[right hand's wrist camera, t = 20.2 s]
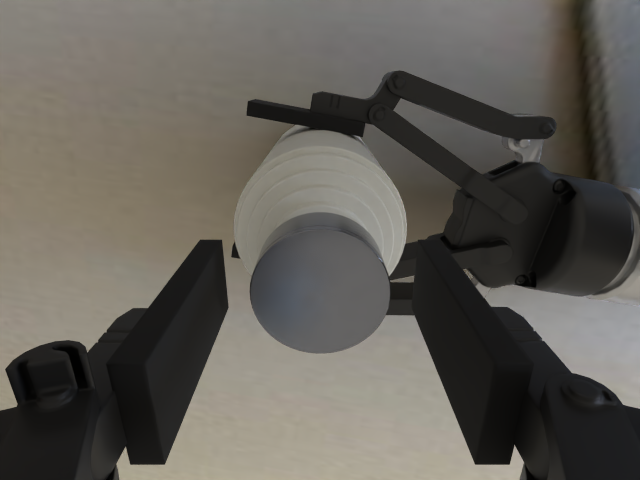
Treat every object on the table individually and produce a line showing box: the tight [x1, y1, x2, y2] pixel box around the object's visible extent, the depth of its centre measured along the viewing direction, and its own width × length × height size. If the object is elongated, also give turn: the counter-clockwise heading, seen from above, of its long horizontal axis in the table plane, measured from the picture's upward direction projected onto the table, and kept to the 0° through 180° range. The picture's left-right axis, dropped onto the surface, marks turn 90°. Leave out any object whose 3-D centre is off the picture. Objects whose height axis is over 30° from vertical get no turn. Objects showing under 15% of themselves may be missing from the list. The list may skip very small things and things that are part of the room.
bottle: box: [234, 125, 407, 276], centre depth 22 cm, size 8×8×18 cm
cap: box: [250, 212, 391, 353], centre depth 14 cm, size 5×5×2 cm
